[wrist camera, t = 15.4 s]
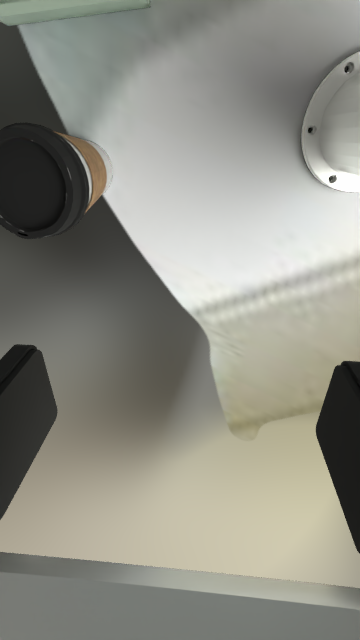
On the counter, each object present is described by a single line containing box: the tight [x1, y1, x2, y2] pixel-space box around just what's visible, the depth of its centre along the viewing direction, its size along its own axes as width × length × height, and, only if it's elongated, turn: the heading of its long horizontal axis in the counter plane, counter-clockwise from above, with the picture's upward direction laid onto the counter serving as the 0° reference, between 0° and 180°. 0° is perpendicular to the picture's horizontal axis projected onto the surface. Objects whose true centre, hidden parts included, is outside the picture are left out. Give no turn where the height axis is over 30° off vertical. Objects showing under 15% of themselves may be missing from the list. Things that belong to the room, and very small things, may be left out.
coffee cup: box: [0, 123, 113, 239], centre depth 30 cm, size 8×8×15 cm
